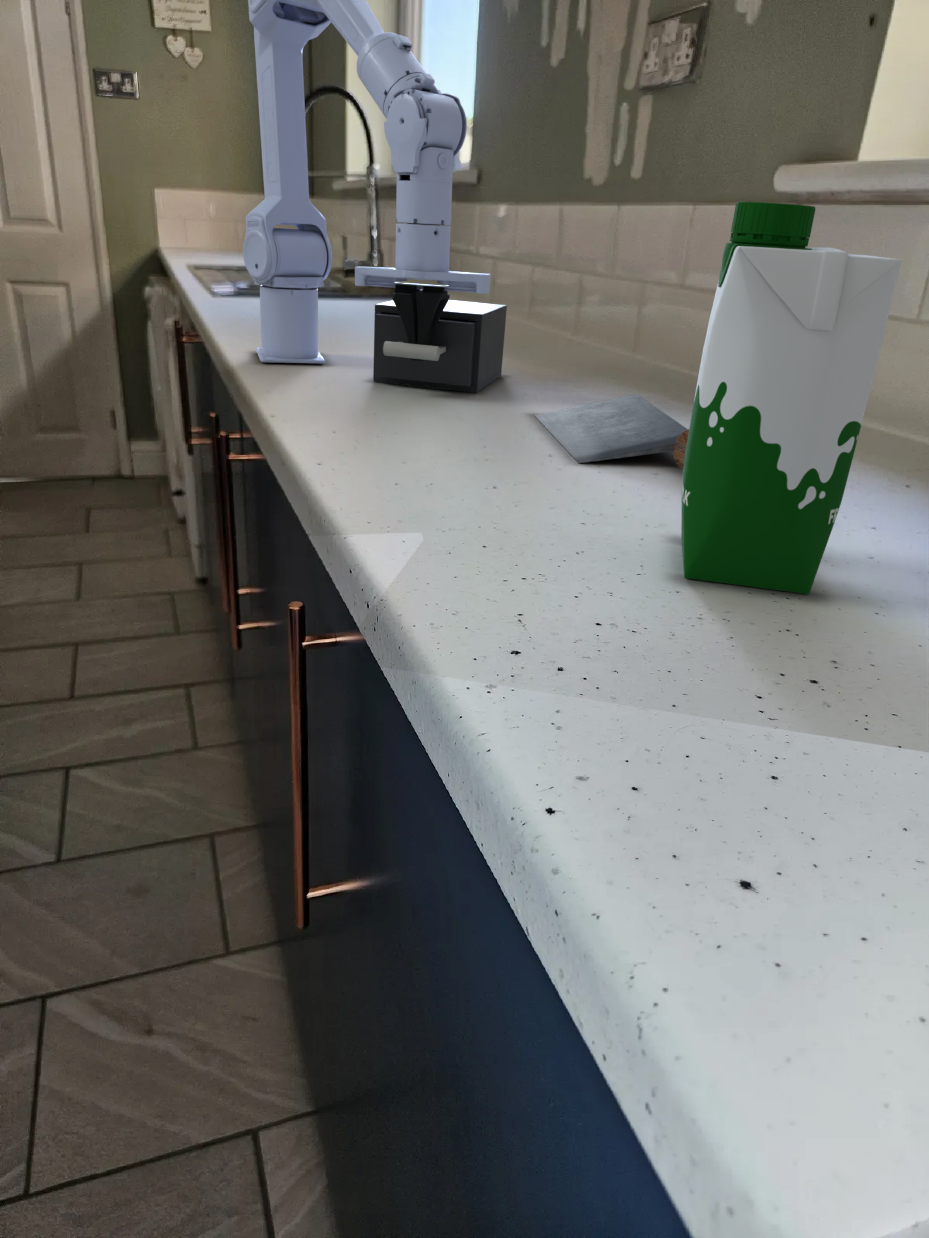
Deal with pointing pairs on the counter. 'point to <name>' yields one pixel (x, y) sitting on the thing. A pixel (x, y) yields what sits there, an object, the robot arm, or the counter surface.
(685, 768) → the counter surface
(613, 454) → the meat cleaver
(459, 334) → the dark drawer box
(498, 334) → the small drawer unit
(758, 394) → the milk carton
